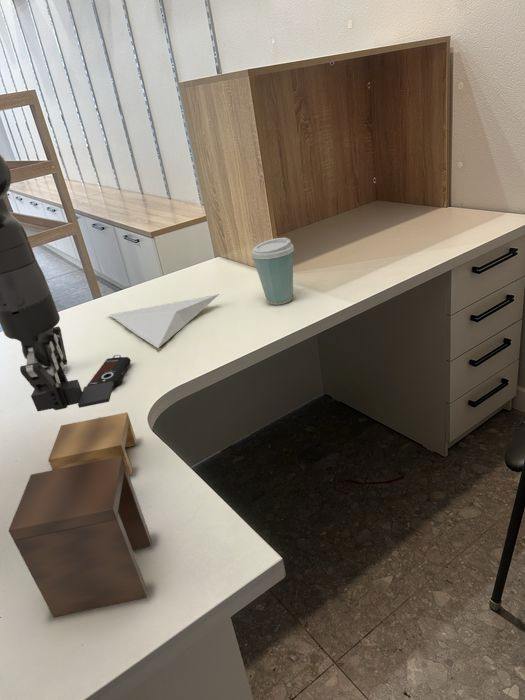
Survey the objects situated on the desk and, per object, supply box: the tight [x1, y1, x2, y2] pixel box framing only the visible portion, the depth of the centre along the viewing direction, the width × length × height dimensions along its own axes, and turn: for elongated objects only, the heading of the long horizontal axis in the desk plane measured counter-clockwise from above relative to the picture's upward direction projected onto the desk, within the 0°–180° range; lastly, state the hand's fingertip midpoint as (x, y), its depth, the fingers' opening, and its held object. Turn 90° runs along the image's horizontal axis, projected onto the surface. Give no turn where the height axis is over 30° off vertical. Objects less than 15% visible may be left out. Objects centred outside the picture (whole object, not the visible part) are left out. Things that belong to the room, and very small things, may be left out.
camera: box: [86, 354, 131, 389], centre depth 111 cm, size 6×3×11 cm
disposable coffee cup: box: [251, 237, 295, 306], centre depth 132 cm, size 11×11×15 cm
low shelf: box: [47, 411, 138, 477], centre depth 85 cm, size 11×9×6 cm
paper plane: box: [109, 293, 220, 349], centre depth 135 cm, size 26×28×4 cm
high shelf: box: [7, 456, 152, 618], centre depth 63 cm, size 11×9×14 cm
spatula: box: [30, 379, 114, 412], centre depth 80 cm, size 11×5×3 cm, turn 97°
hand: (63, 402), depth 80 cm, fingers closed on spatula, 2 cm apart
